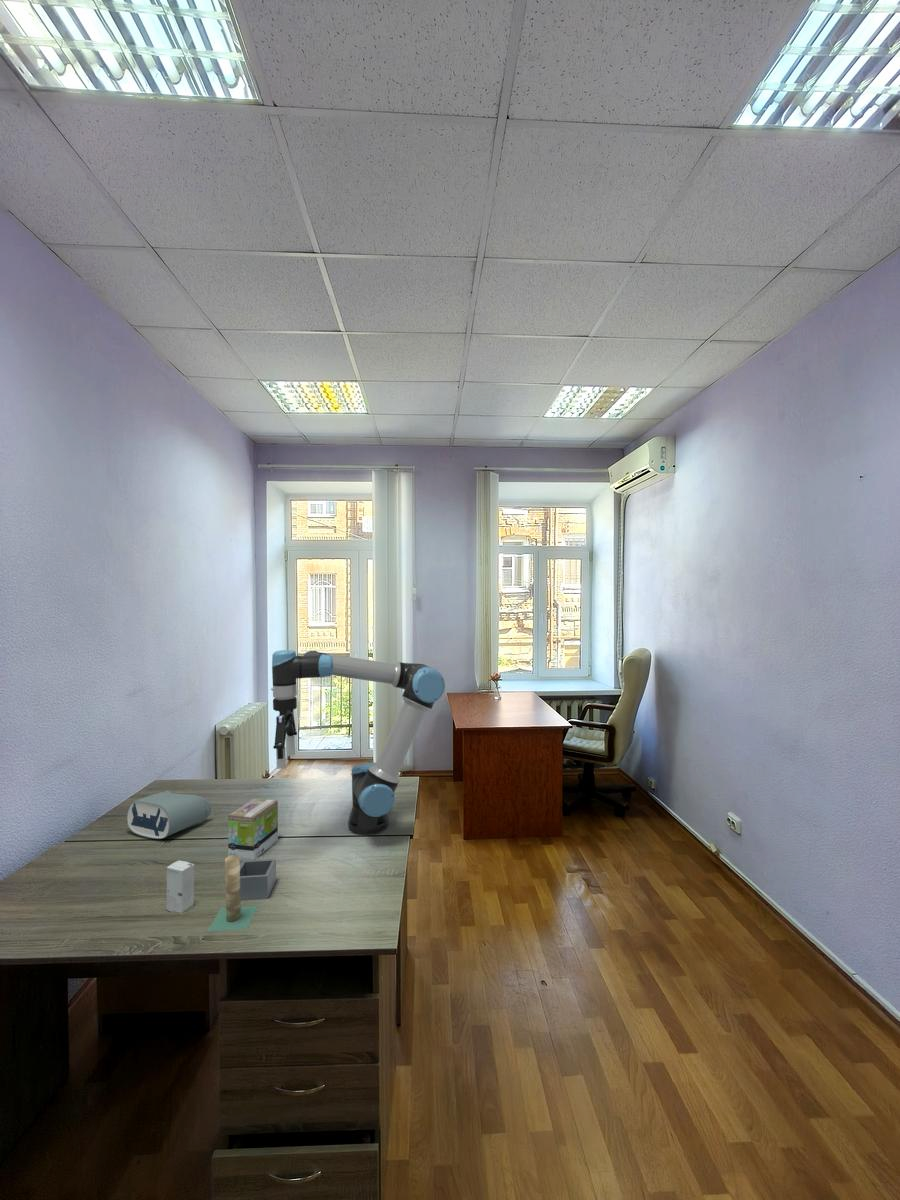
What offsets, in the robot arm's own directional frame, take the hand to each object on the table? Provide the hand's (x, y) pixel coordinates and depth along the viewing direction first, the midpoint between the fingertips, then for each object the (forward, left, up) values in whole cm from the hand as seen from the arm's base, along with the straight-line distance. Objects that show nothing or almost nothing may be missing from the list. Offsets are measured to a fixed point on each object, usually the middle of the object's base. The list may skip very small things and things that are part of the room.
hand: (286, 761), depth 172 cm
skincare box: (+24, +26, -32) cm, 47 cm away
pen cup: (+5, +20, -32) cm, 38 cm away
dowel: (+7, +33, -31) cm, 46 cm away
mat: (+7, +33, -32) cm, 46 cm away
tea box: (+13, -7, -32) cm, 35 cm away
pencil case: (+50, -28, -32) cm, 65 cm away
